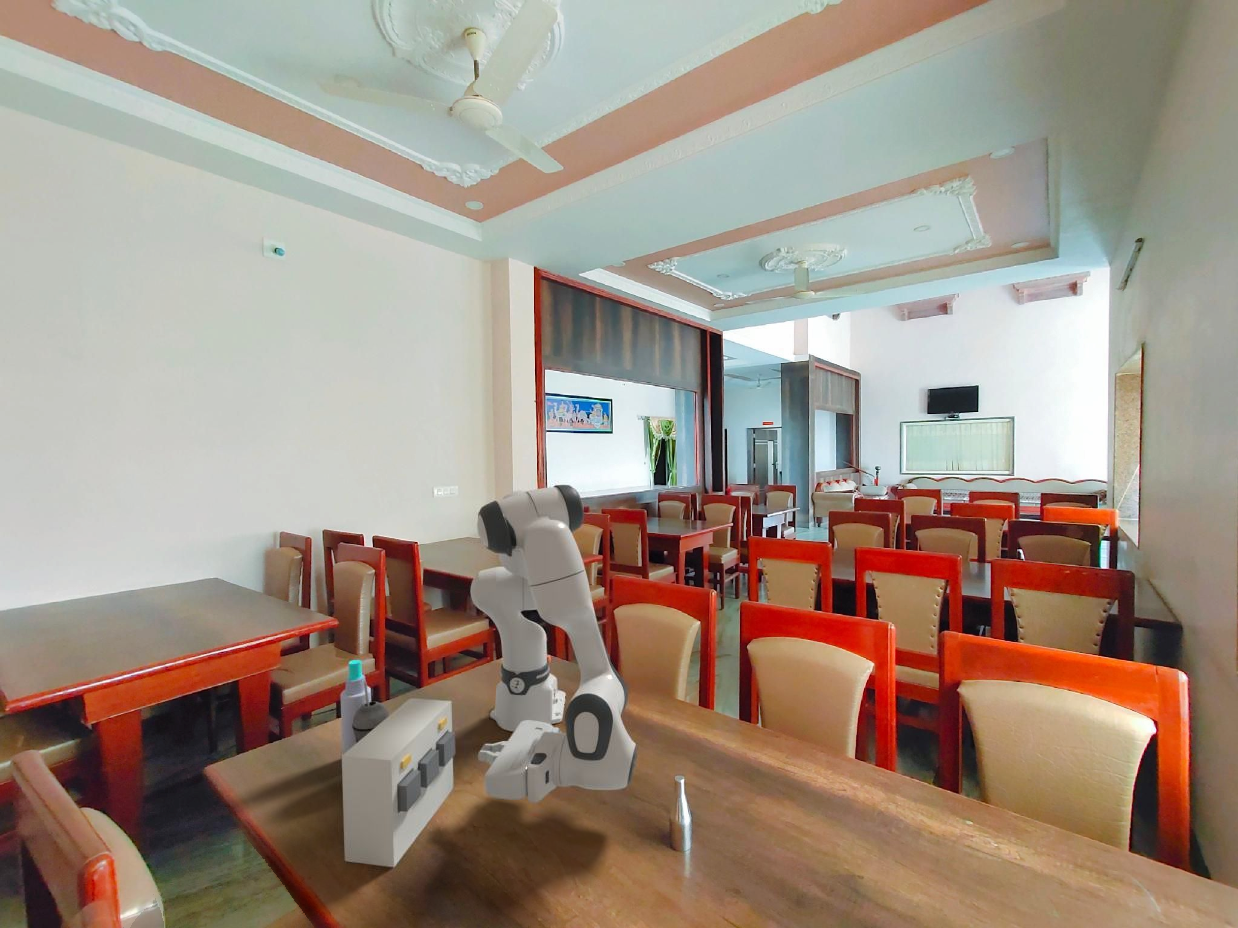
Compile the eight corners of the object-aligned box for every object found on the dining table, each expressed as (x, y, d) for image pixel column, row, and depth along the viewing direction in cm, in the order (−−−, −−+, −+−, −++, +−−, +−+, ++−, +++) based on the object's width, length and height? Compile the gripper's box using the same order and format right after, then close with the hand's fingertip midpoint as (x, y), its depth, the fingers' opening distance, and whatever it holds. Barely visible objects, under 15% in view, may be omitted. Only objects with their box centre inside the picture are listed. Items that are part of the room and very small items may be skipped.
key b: (437, 752, 109) (437, 730, 109) (455, 753, 109) (454, 732, 109) (426, 764, 105) (426, 742, 105) (444, 766, 104) (444, 743, 104)
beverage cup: (377, 788, 111) (374, 691, 111) (345, 784, 113) (342, 688, 112) (398, 767, 119) (396, 676, 118) (368, 763, 120) (366, 673, 119)
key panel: (412, 784, 113) (410, 698, 112) (455, 788, 111) (453, 701, 110) (344, 860, 92) (341, 755, 91) (396, 867, 90) (393, 760, 90)
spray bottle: (336, 763, 120) (333, 665, 119) (358, 749, 126) (355, 655, 125) (356, 769, 118) (353, 668, 117) (378, 754, 124) (376, 658, 123)
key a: (401, 793, 97) (400, 768, 96) (420, 795, 96) (420, 770, 96) (386, 809, 92) (386, 783, 92) (407, 811, 92) (406, 785, 91)
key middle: (420, 771, 103) (420, 748, 103) (439, 773, 102) (438, 750, 102) (408, 785, 99) (407, 761, 99) (427, 787, 98) (426, 763, 98)
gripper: (564, 714, 113) (501, 709, 116) (533, 773, 93) (457, 766, 96) (565, 744, 114) (501, 739, 116) (533, 809, 93) (457, 801, 96)
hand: (481, 751), depth 106 cm, fingers closed
